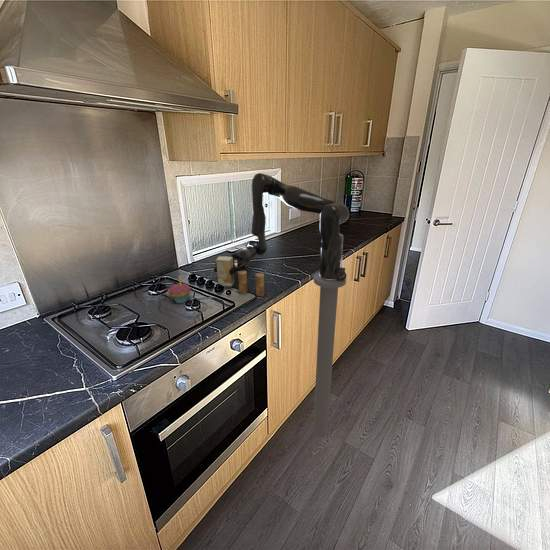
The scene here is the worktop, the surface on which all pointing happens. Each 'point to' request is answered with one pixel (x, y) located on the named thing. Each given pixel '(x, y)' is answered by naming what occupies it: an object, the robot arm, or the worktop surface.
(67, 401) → the worktop surface
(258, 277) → the oak pegs
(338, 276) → the robot arm
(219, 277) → the cosmetic box
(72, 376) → the worktop surface
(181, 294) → the cupcake
